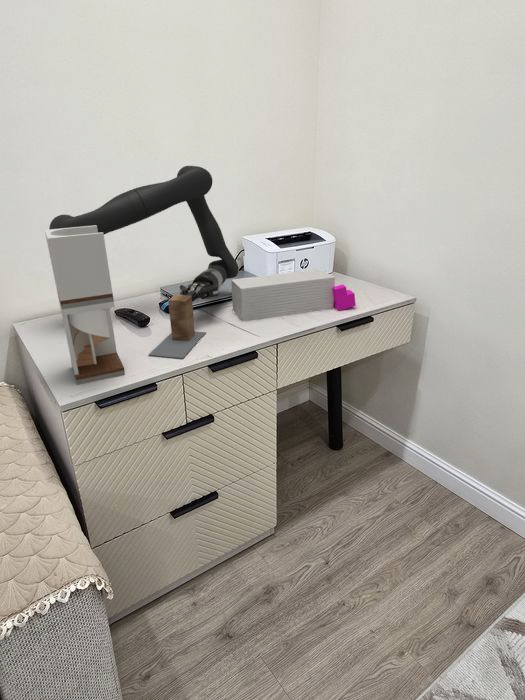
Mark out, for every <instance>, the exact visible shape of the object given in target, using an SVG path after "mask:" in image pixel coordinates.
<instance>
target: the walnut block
mask: <svg viewBox="0 0 525 700" xmlns="http://www.w3.org/2000/svg"><path fill="white" fill-rule="evenodd" d="M167 302H168V312H169V320H170V322H169V323H170V331H171V333H172V340H178V341H190V339H191V338H192V337H193V336H194V335H195V330H196V329H195V320H194V319H195V317H194V306H193V305H194V304H193V302H192V296H189V295H181V294H173V296H172V297H170V298H169V299H168V300H167Z"/></svg>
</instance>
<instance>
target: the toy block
mask: <svg viewBox="0 0 525 700" xmlns="http://www.w3.org/2000/svg"><path fill="white" fill-rule="evenodd" d="M334 286H335V285H334ZM332 290H333V297H334V302H333V303H334V305H333V306H334V309H336V310H337V311H338V312H339V311H340V312H341V311H342V310H345V309H349V308H353V307H356V305H357V304H356V296H355V292H354V291H352V290H351V289H347V286H346V285H345V284H339V285H336V286H335V287H332Z"/></svg>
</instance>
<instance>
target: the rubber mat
mask: <svg viewBox="0 0 525 700" xmlns="http://www.w3.org/2000/svg"><path fill="white" fill-rule="evenodd" d="M206 334H207V332H206V331H197V330H196V331H195V335H194V336H193V337H192V338H191V339H190V341H178V340H172V332H171V333H169V335H167V336H166V337H165V338H164V339H163V340H162V341H161V342H160V343H159V344H158V345H157V346H156V347H155V348H154V349H152V351H151V352H149V353H148V354H147V355H148V357H153V356H154V357H153V358H155V357H156V358H164V359H165V358H166V359H176V360H184V359H185V358H186V357H187V356H186V355H189V353H190V352H191V351H192V350H193V349H194V348H195V347H196V345H197V344H198V343H199V342H200V341H201V340H202V339H201V338H204V337H205V335H206ZM200 339H201V340H200ZM199 340H200V341H199ZM198 341H199V342H198ZM197 342H198V343H197ZM194 346H195V347H194ZM193 347H194V348H193ZM192 348H193V349H192ZM185 356H186V357H185Z"/></svg>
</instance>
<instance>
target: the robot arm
mask: <svg viewBox="0 0 525 700" xmlns="http://www.w3.org/2000/svg"><path fill="white" fill-rule="evenodd" d="M212 186H213V177H212V175H211V173H210V172H209V170H207V169H205V168H203V167H201V166H197V165H185V166H183V167H181V168H180V169H179V170H178V172H177V175H176V177H174V178H171V179H170V180H166V181H163V182H157V183H151V184H146V185H143V186H139V187H136V188H135V187H134V188H133V189H129V190H127V191H124V192H122V193H120V194H118V195H116V196H114V197H112V198H111V199H110V200H108V201H107V202H105V203H104V204H103V205H101V206H99V207H98V208H96V209H95V210H94V209H93V210H92V211H88V212H85V213H83V214H79V215H75V216H72V215H70V214H59V215H57V216H55V217H54V218H53V219H52V220H51V221H50V224H49V228H48V230H50V229H61V228H72V227H83V226H94V225H97V230H98V233H101V232H103V234H104V235H107V234H109V233H112V232H115V231H118V230H121V229H123V228H126V227H129V226H131V225H134V224H137V223H138V222H141V221H143V220H146V219H148V218H150V217H153V216H155V215H157V214H159V213H161V212H163V211H166V210H168V209H170V208H172V207H173V206H176V205H179V204H180V203H181V204H182V203H185V202H186V204H187V206H188V208H189V210H190V212H191V214H192V216H193V219H194V221H195V224H196V226H197V229H198V231H199V234H200V236H201V237H200V238H201V239H202V242H203V246H204V247H205V251H206V253H207V255H208V256H209V257H213V258H220V259H216V260H213V261H211V262H209V264H208V267H207V269H205V270H204V271H202V272H201V273H200V274H198V275H197V276H195V278H193V281H192V283H190V284H188V285H187V286H186V285H183V284H181V285H179V293H180V294H179V295H189V296H192V303H193V302H195V301H196V300H200V299H201V300H207V299H212V298H214V297H218V296H219V289H220V288H221V286H222V285H224V283H225V282H226V280H229V279H230V280H231V279H235V278H236V277H237V276H238V274H239V270H240V268H239V265H238V262H237V260H236V259H235V258H234V255H233V254H232V253H231V252H230V250H229V248H228V246H227V244H226V241H225V238H224V236H223V232H222V230H221V228H220V225H219V223H218V222H217V219H216V218H215V217H214V215H213V213H212V211H211V209H210V207H209V205H208V203H207V200H206V197H205V196H206V195H207V194H208V193H209V192H210V190H211V188H212Z"/></svg>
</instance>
